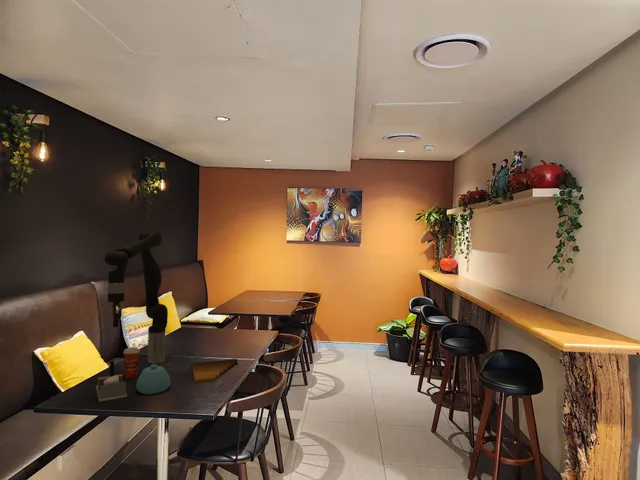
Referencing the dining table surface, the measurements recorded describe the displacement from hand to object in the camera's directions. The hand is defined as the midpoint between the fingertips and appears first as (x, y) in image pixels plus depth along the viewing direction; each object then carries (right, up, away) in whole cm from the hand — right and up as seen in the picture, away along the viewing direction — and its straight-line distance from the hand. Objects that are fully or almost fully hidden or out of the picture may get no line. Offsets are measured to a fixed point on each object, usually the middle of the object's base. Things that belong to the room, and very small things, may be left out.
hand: (115, 326), depth 200 cm
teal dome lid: (+22, -28, -9) cm, 37 cm away
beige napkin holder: (+5, -27, -13) cm, 31 cm away
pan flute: (+46, -29, +17) cm, 56 cm away
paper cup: (+4, -27, +8) cm, 29 cm away
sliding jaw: (+3, -26, -10) cm, 28 cm away
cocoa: (+5, -26, -14) cm, 30 cm away
